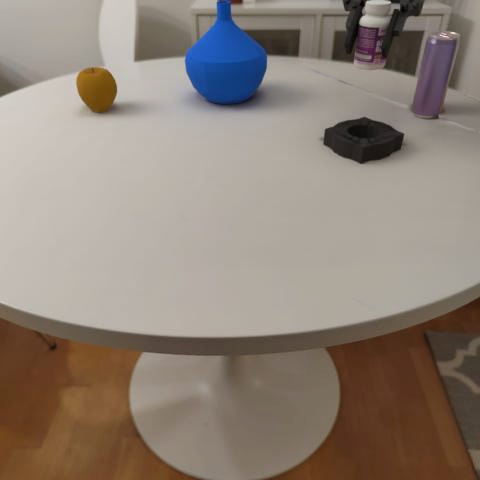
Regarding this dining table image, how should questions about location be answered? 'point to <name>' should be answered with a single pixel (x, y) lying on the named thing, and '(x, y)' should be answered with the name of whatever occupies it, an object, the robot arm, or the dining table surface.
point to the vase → (226, 61)
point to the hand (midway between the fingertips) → (365, 50)
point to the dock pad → (363, 139)
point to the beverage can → (435, 73)
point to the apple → (96, 88)
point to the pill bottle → (372, 35)
